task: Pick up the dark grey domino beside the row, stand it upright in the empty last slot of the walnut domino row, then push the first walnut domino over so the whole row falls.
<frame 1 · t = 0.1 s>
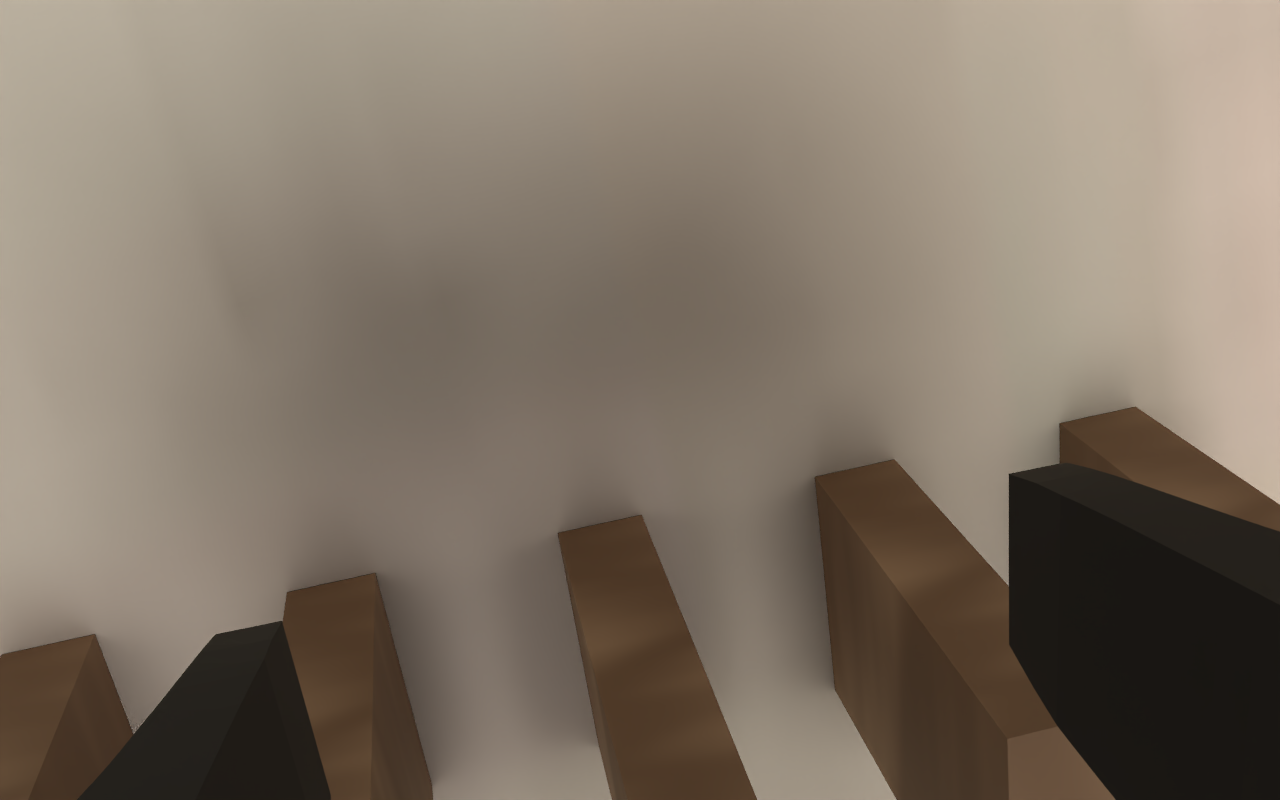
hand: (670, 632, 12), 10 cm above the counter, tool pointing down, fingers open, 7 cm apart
walnut domino 2: (863, 578, 24), on the counter
walnut domino 5: (93, 755, 23), on the counter
walnut domino 3: (619, 635, 24), on the counter
walnut domino 4: (363, 694, 23), on the counter
walnut domino 1: (1096, 525, 25), on the counter
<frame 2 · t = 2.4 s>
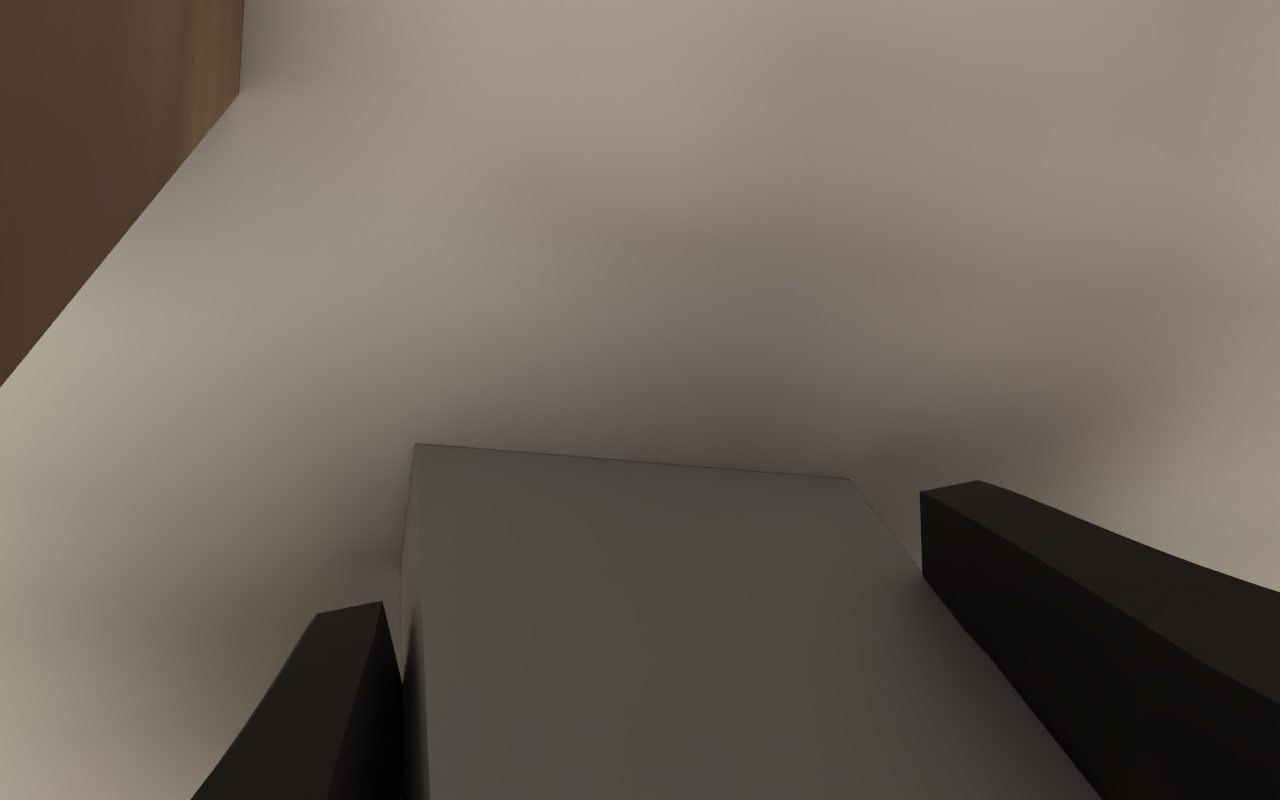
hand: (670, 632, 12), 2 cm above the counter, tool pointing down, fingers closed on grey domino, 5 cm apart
grey domino: (629, 525, 14), on the counter, touching gripper
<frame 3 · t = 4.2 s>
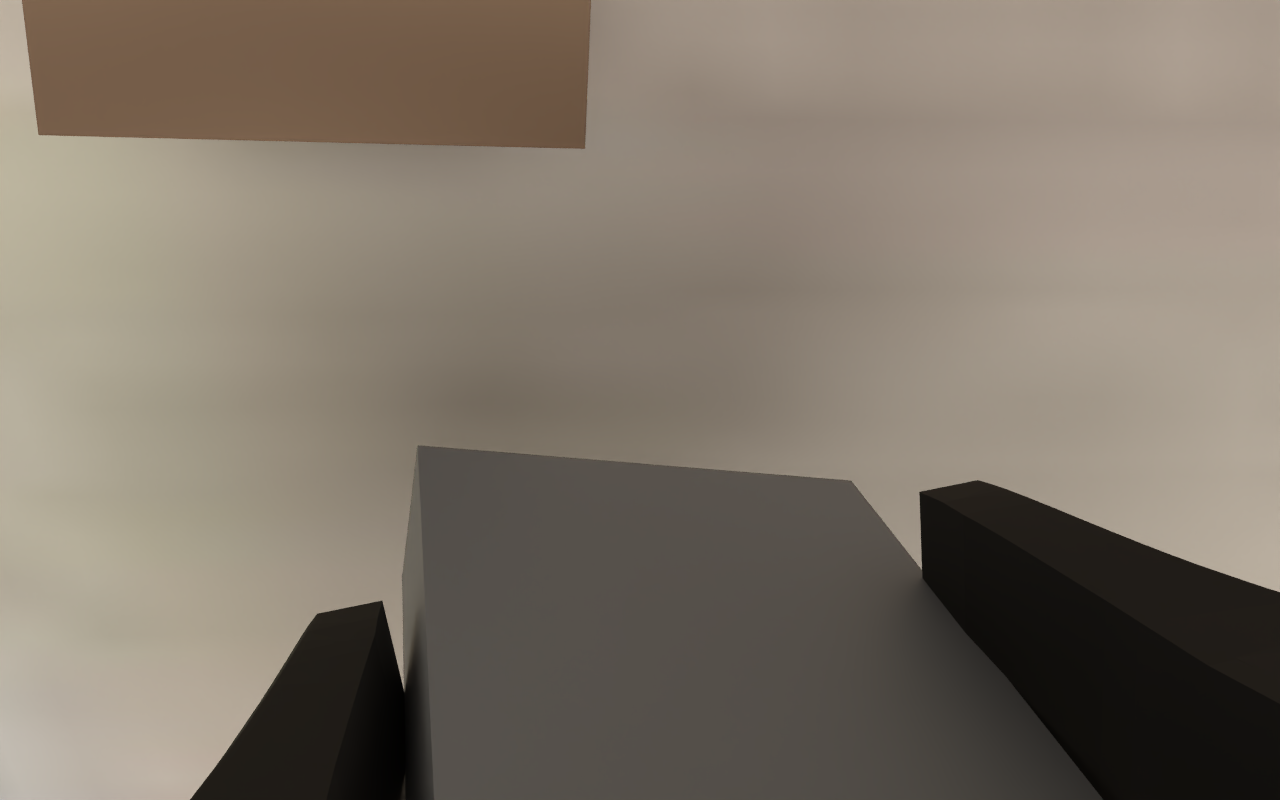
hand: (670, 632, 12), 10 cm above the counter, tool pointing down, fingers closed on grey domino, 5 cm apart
grey domino: (631, 527, 14), point 8 cm above the counter, touching gripper
when the fingers open (3 cm above the counter, at t = 6.3 s): grey domino drops 1 cm, on the counter.
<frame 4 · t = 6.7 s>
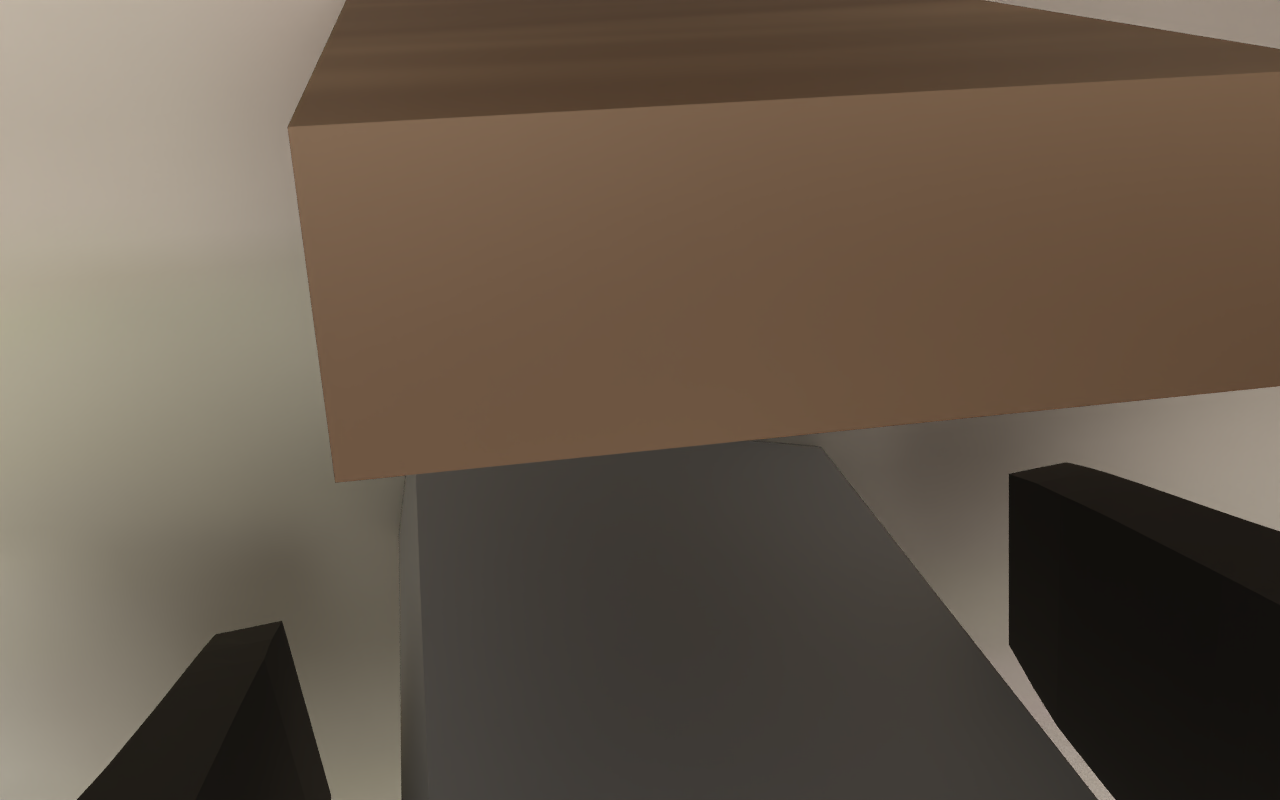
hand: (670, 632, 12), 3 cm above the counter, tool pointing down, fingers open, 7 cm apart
walnut domino 5: (599, 63, 13), on the counter
grey domino: (614, 489, 15), on the counter
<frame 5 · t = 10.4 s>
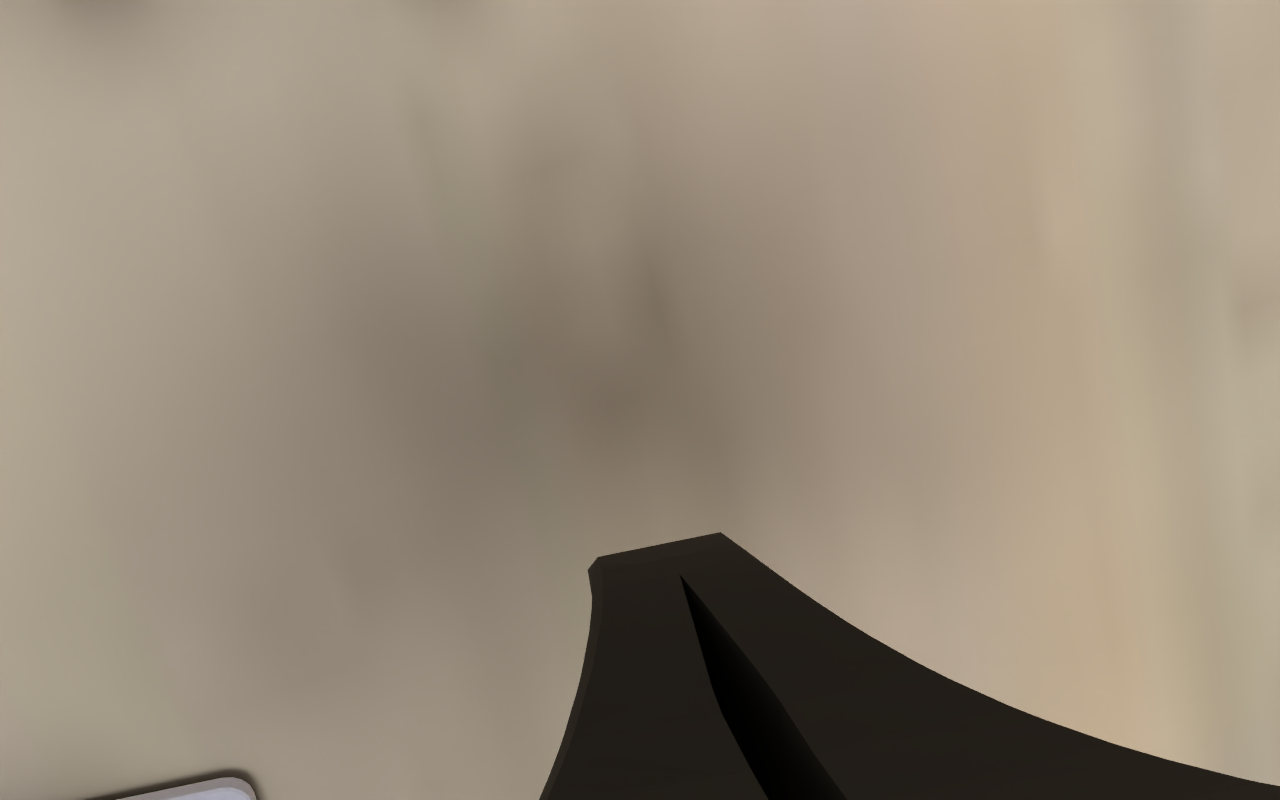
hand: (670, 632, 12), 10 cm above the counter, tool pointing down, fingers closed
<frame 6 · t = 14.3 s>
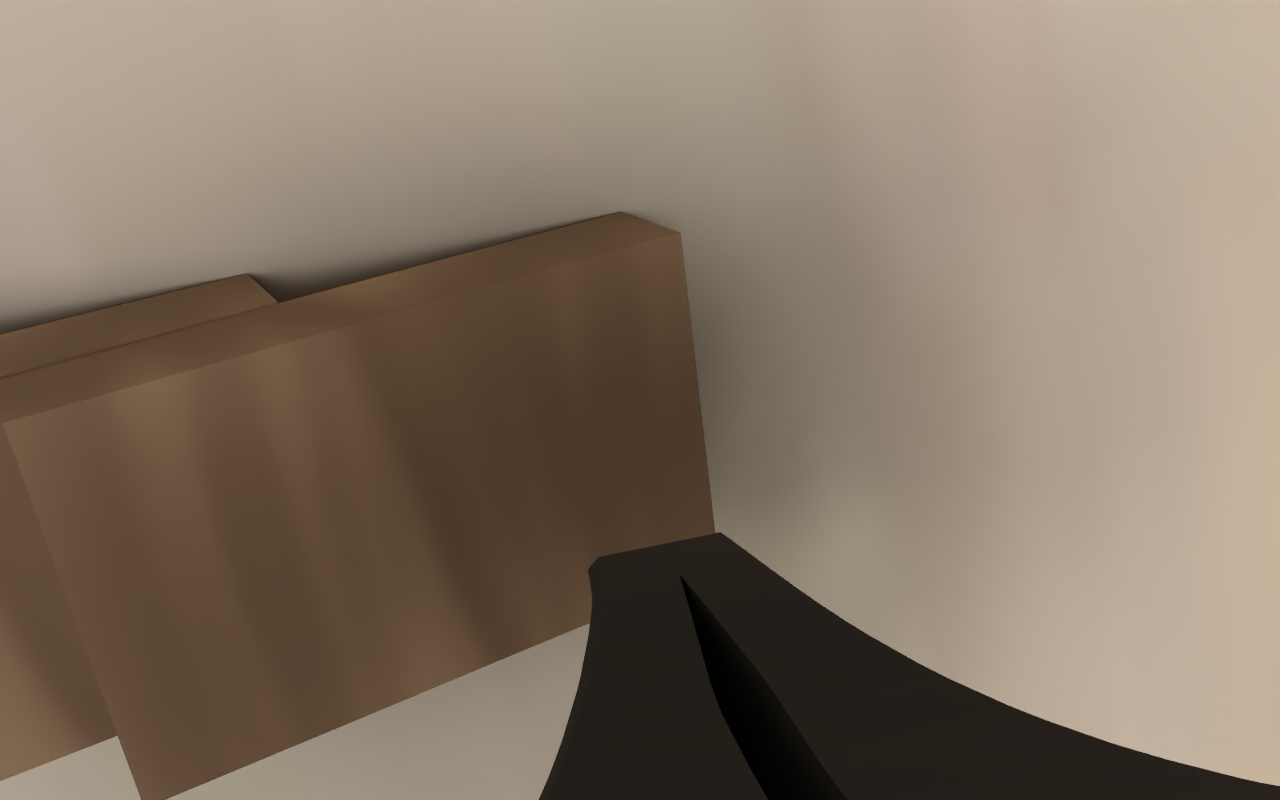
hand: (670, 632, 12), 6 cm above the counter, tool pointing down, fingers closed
walnut domino 2: (305, 461, 17), point 1 cm above the counter, tilted 71°, touching walnut domino 1, walnut domino 3
walnut domino 1: (671, 393, 17), point 1 cm above the counter, tilted 72°, touching walnut domino 2
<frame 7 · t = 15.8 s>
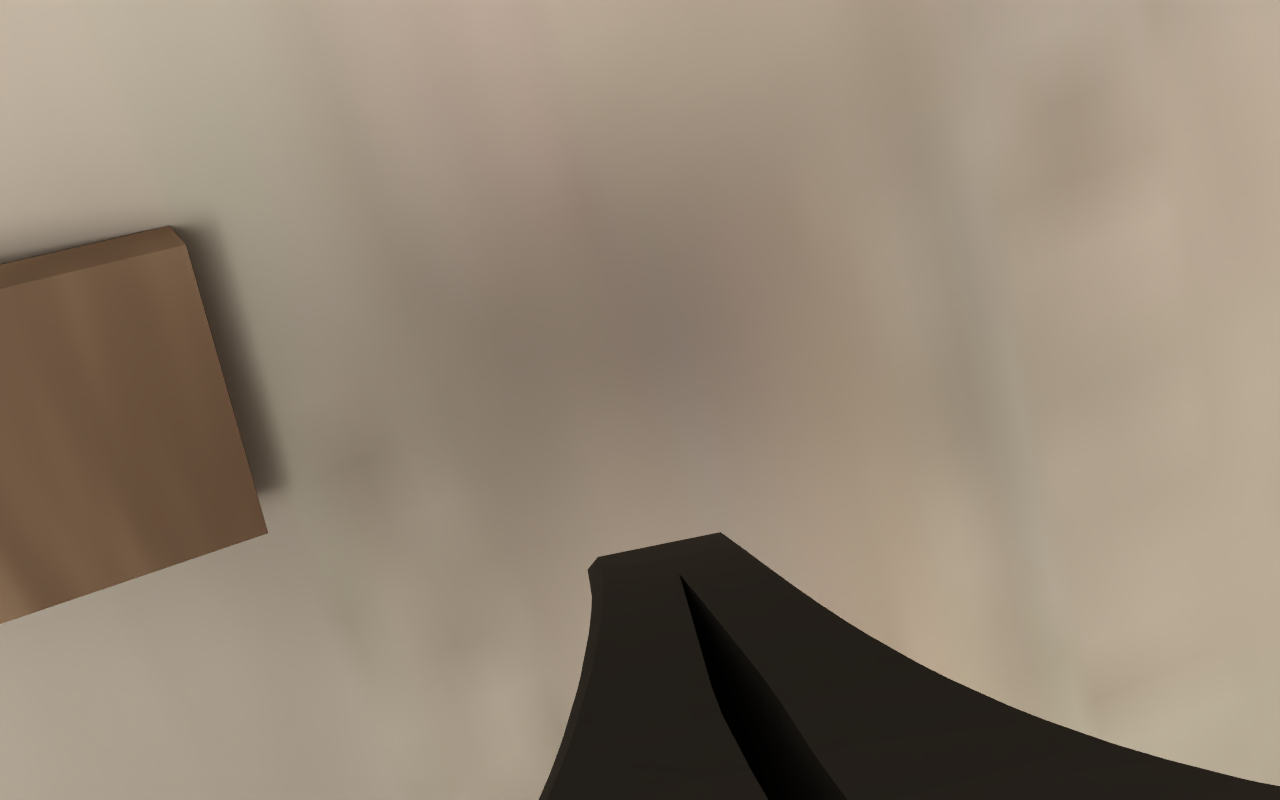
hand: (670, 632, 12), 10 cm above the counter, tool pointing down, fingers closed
walnut domino 1: (219, 381, 20), point 1 cm above the counter, tilted 72°, touching walnut domino 2
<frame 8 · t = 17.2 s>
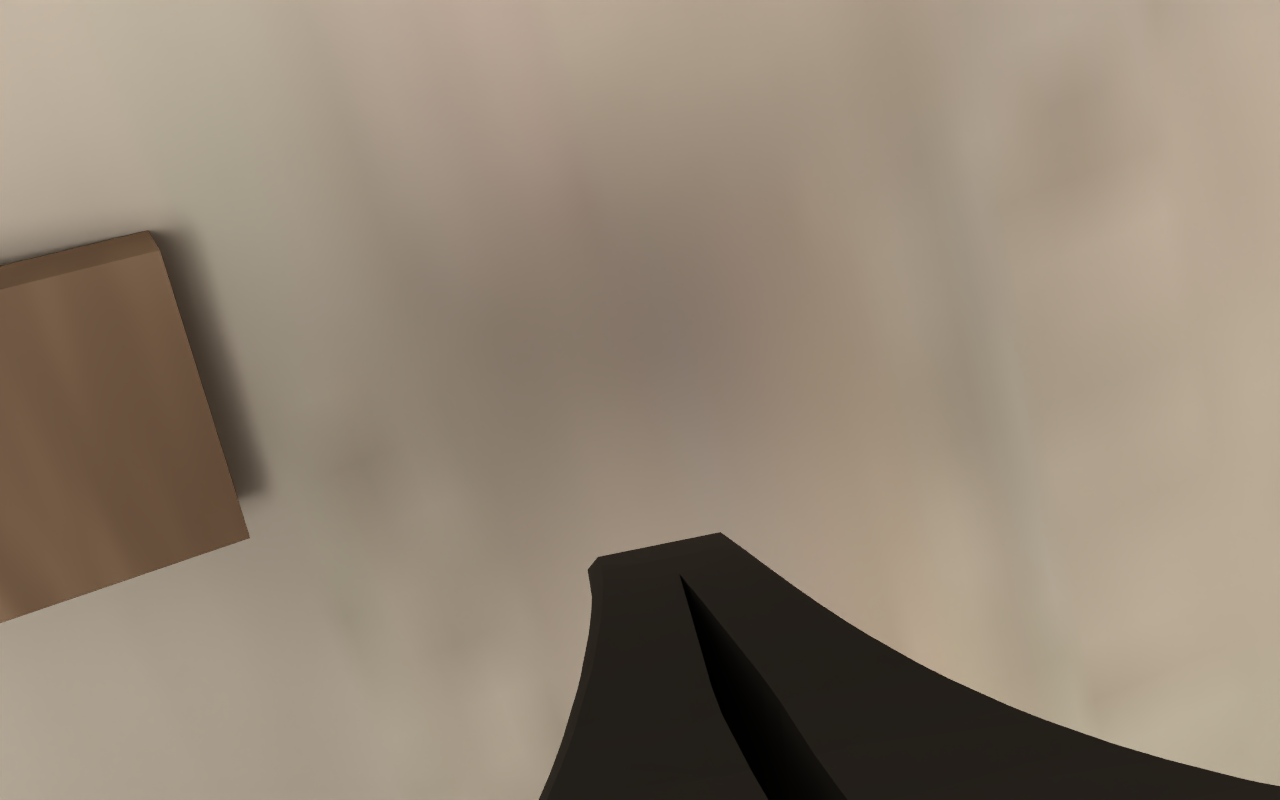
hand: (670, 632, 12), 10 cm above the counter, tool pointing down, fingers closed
walnut domino 1: (199, 386, 20), point 1 cm above the counter, tilted 74°, touching walnut domino 2
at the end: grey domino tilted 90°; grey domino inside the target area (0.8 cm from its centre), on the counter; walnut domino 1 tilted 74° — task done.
